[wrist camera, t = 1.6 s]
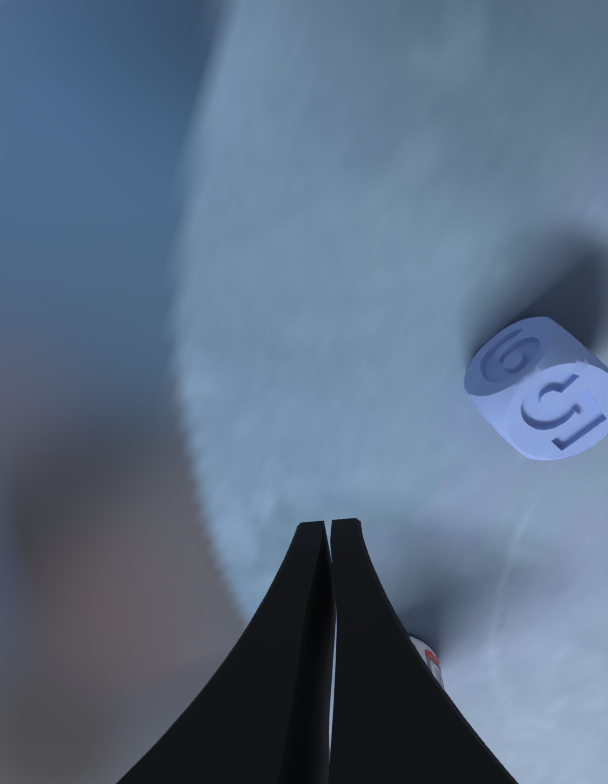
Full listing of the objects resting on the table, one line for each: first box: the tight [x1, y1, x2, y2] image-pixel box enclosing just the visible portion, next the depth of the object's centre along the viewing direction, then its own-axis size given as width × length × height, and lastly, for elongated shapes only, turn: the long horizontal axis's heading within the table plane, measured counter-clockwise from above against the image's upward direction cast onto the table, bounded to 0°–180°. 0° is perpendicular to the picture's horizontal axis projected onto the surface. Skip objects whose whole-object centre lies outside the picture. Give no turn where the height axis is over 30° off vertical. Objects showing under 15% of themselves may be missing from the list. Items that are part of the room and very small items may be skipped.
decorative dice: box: [464, 316, 608, 460], centre depth 17 cm, size 4×4×4 cm
